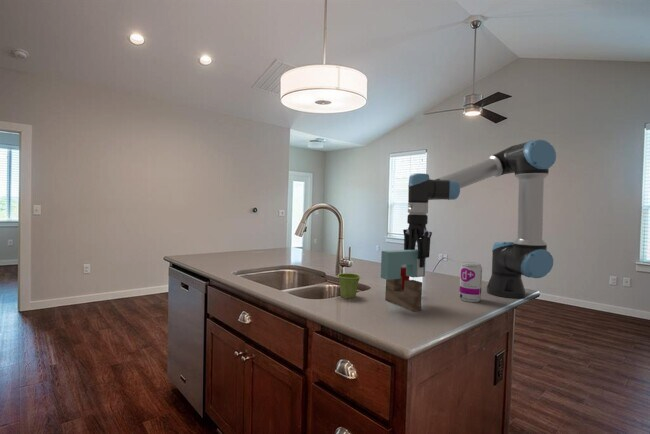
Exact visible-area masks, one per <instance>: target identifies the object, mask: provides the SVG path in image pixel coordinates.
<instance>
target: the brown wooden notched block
mask: <svg viewBox="0 0 650 434" xmlns="http://www.w3.org/2000/svg"><path fill="white" fill-rule="evenodd" d="M422 297H423V282H422V281H419V280H416V279H415V280H414V279H409V280H405V281H404V290H402V276H401V278H400V279H391V280H386V279H385V297H384V298H385V301H387V302H389V303H392V304H394V305H396V306H399V307H401V308H404V309H406V310H409V311H411V312H417V311H421V310H422V304H423V303H422V301H423V300H422Z"/></svg>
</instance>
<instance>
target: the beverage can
mask: <svg viewBox="0 0 650 434" xmlns="http://www.w3.org/2000/svg"><path fill="white" fill-rule="evenodd" d="M401 276H402V290H404V281H405V280H410V277H409V276H406V266H404V265H401Z"/></svg>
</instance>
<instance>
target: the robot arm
mask: <svg viewBox="0 0 650 434" xmlns="http://www.w3.org/2000/svg"><path fill="white" fill-rule="evenodd" d="M556 159H557V151H556V149H555V147H554V145H552V144H551V143H550V142H549V141H547V140H544V139H534V140H529V141H526V142H523V143H519V144H515V145H511V146H509V147H507V148H504V149H503V150H500V151H499V152H497V153H494V154H492V155H490V156H488V157H487V159H485V160H483V161H480V162H477V163H475V164H472V165H470V166H466V167H464V168H461V169H459V170H455V171H454V172H451V173H448V174H446V175H443V176H441V177H438V178H436V179H431V178H430V174H428V173H418V172H417V173H412V174H410V175H409V178H408V186H407V187H408V188H407V189H408V193H407V194H408V197H407V198H408V200H407V213H408V215H407V217H406V218H407V222H406V223H407V224H408V228H406V229H402V231H403V250H416V244H417V249H418V255H419V257H417V258H418V259H417V274H416V276H423V267H424V266H425V267H426V260H425V258H426V259H427V258H430V250H431V239H432V235H433V232H432V231H428V230H427V225H428V222H429V221H428V215H427V214H428V213H429V201H433V200H434V201H438V200H439V201H440V200H441V201H442V200H444V201H445V200H448V201H450V200H454V201H455V200H457V199H458V198H459V196H460V193H461V189H463V188H465V187H468V186H470V185H473V184H476V183H478V182H479V183H480V182H482V181H484V180H486V179H487V180H488V178H492V177H497V178H498V177H500V176H501V177H502V176H504V175H508V174H514V177H515V178H516V179H518V199H517V200H518V202H517V204H518V205H517V206H518V208H517V239H515V240H514V241H499V242H494V243H493V245H492V250H491V251H492V253H491V254H492V257H491V260H492V261H491V276H490V278H489V280H488V284H487V286H486V292H487V294H491V295H493V296H497V297H502V298H510V299H511V298H512V299H522V298H525V297H526V290H525V287H524V282H523V280H522V279H523V278H522V276H524V277H527V278H532V279H541V278H544V277H546V276H547V275H548V274H549V273H550V272H551V270H552V269H553V266H554V257H553V255H552V254H551V252H549V251H548V248H547V246H548V244H547V243H546V242H545V240H543V230H544V229H543V225H544V223H543V221H544V186H545V185H544V181H545V178H546V177H548V176H549V169H550V168H551V167H553V165H554V164H555V162H556V161H557V160H556ZM424 264H425V265H424Z"/></svg>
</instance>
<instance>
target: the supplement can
mask: <svg viewBox="0 0 650 434" xmlns="http://www.w3.org/2000/svg"><path fill="white" fill-rule="evenodd" d="M482 277H483V267H482V265H481V263H480V262H479V263H478V262H472V261H463V262H462V263H461V264H460V268H459V291H458V292H459V294H458V295H459V297H458V298H460V300H461V301H464V302H469V303H478V302H480V301H482V282H483V281H482V279H483V278H482Z"/></svg>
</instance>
